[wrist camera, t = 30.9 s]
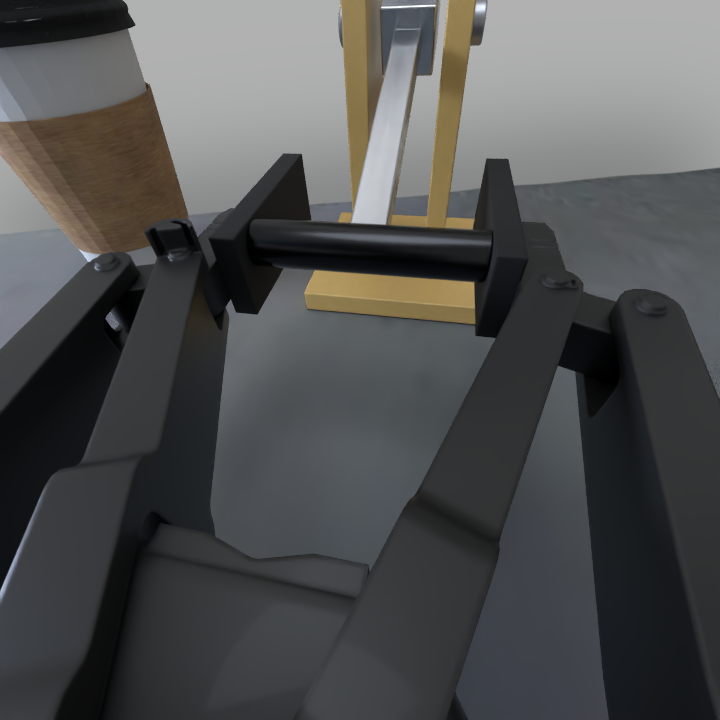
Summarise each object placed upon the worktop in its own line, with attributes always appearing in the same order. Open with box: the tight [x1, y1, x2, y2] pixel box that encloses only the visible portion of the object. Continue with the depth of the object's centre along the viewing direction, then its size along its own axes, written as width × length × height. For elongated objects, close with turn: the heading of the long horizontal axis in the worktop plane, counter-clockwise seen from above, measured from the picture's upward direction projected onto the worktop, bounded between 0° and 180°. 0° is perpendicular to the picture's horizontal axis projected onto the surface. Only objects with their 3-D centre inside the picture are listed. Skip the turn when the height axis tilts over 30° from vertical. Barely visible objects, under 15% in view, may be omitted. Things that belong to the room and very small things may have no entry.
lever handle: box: [247, 0, 493, 283], centre depth 13 cm, size 14×7×2 cm, turn 169°
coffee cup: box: [0, 0, 189, 266], centre depth 19 cm, size 8×8×15 cm
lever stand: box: [304, 0, 487, 324], centre depth 19 cm, size 10×10×14 cm
